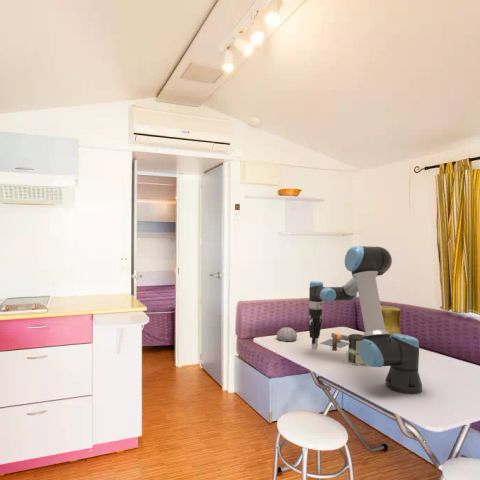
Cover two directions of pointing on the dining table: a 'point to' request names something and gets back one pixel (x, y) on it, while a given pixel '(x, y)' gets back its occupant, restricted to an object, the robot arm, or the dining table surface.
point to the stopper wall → (342, 336)
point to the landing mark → (339, 344)
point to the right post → (334, 342)
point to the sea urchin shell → (286, 334)
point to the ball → (338, 337)
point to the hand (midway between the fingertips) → (314, 349)
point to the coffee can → (355, 350)
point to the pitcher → (391, 319)
